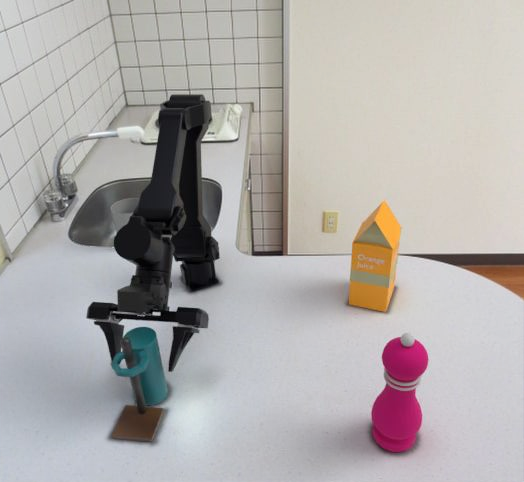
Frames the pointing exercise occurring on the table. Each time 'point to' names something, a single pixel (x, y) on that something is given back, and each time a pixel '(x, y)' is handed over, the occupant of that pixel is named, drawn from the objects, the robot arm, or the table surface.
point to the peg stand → (136, 408)
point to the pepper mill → (399, 394)
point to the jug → (145, 364)
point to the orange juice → (375, 260)
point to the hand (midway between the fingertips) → (142, 369)
